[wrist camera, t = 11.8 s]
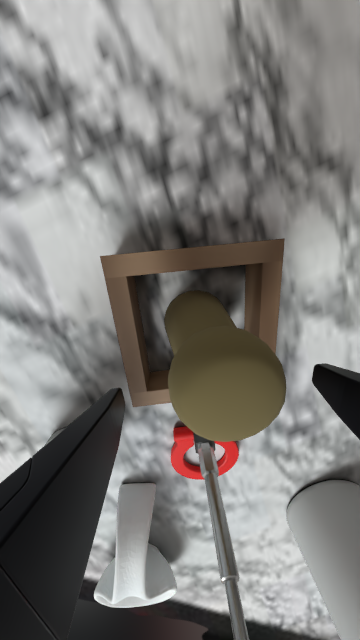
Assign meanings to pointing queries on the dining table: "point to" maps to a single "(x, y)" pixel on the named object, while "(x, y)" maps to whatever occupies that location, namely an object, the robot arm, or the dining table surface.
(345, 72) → the dining table surface
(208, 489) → the tow hook
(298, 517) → the cylinder vase
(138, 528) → the spoon rest
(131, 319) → the walnut socket block
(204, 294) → the olive tall rounded piece
